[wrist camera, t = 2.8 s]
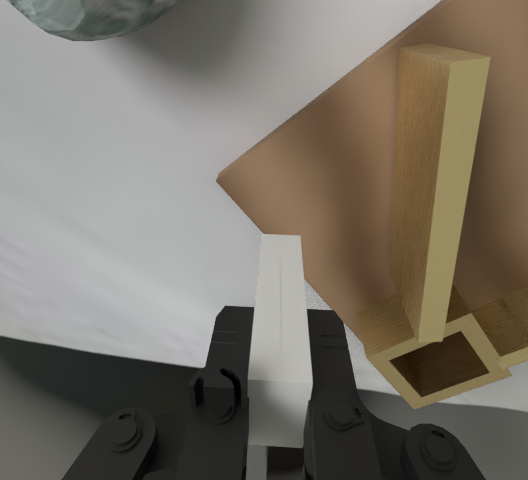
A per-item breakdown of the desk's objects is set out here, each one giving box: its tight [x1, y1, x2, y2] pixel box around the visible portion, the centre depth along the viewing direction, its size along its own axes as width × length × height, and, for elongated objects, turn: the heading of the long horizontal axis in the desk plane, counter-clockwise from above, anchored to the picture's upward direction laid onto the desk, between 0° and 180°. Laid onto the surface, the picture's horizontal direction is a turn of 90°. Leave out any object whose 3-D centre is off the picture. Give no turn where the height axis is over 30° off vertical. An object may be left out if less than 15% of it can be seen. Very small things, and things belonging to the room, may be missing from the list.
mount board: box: [216, 0, 528, 343], centre depth 21 cm, size 23×22×1 cm
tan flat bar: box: [389, 43, 491, 343], centre depth 17 cm, size 13×1×6 cm, turn 8°
